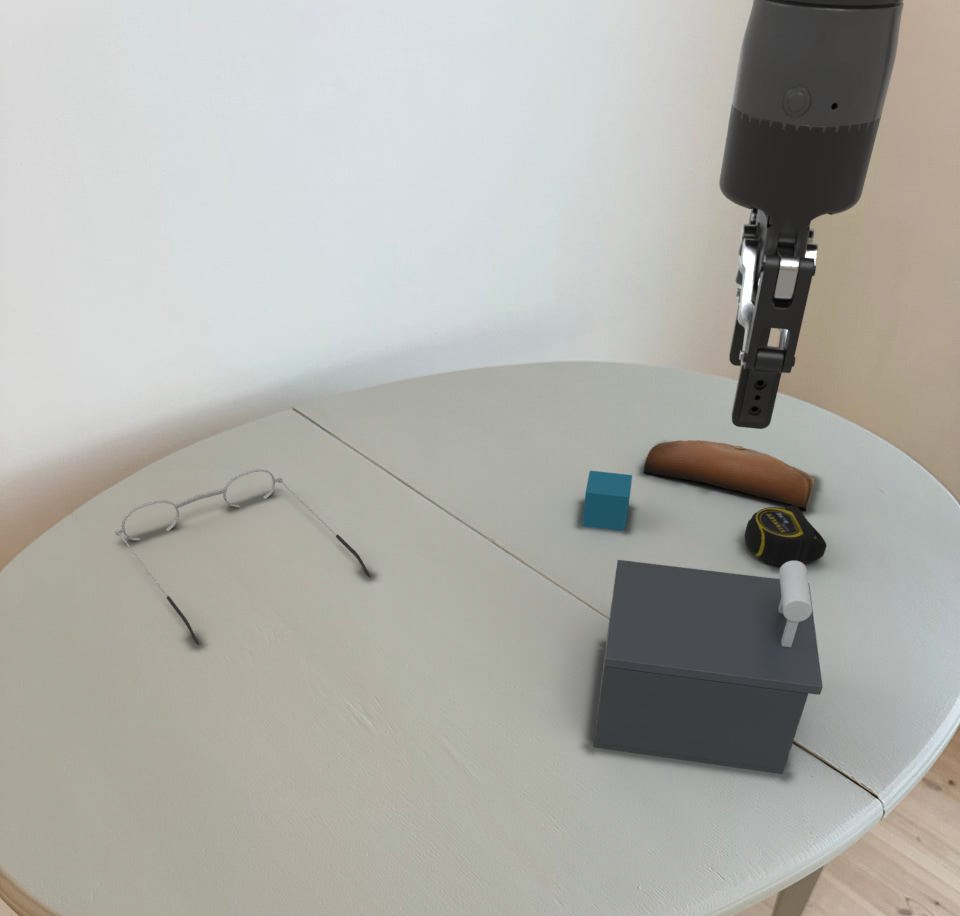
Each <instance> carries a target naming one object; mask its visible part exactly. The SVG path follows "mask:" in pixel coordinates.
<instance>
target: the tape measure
mask: <svg viewBox="0 0 960 916" xmlns="http://www.w3.org/2000/svg"><path fill="white" fill-rule="evenodd" d="M744 540H745V545H746V547H747V549H748V551H749V552H750V553H751V554H752V555H753V556H755V557H756V558H758V560H760V561H761V562H765V563H767V564H770V565H773V566H780V567H781V566H782V565H783V564H784V563H786V562H789V561H799V562H801V563H803V564H804V563H810V562H811V563H812V562H816V561H818V560H820V559H822V558H824V555H825V552H826V549H827V542H826V540H825V538H823V536H822V534H821V533H820V532H819V531H818V530H817V529H816V528H815V527H814V526H813V524H811V522H809V520H808V519H807V518H806V516H805V514H804V513H803V512H802V511H801V510H800V508H799V507H797V506H794V505H790V506H789V505H788V506H785V507H784V508H783V507H778V506H771V507H764V508H762V509H760V510H757V511H756V512H755V513H753V514H752V516H751V518H750V519H749V520H748V521H747V524H746V527H745V531H744Z"/></svg>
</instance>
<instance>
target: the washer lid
mask: <svg viewBox="0 0 960 916" xmlns="http://www.w3.org/2000/svg"><path fill="white" fill-rule="evenodd" d="M615 574H616V575H614V582H615V583H613V589H614V591H613V590H612V596H613V599H612V598H611V604H612V608H611V607H610V611H611V616H610V615H609V618H610V624H609V623H608V625H609V632H608V631H607V633H608V640H607V639H606V640H607V648H606V647H605V648H606V656H605V655H604V656H605V664H604V663H603V664H604V666H606V667H613V668H621V669H628V670H636V671H643V672H651V673H658V674H666V675H674V676H681V677H689V678H696V679H704V680H711V681H719V682H726V683H734V684H741V685H749V686H756V687H764V688H771V689H779V690H786V691H794V692H802V693H808V695H817V696H820V695H821V694H822V690H823V688H824V686H823V680H822V672H821V671H822V670H821V664H820V655H819V649H818V640H817V633H816V632H817V631H816V626H815V618H814V611H813V610H814V609H813V601H812V595H811V586H810V582H809V577H808V569H807V566H806V565H805V564H804V563H801V562H799V561H789V562H786V563H784V564H783V565H782V566H780V568H779V571H778V576H779V578H774V577H765V576H758V575H757V576H756V575H748V574H741V573H732V572H724V571H715V570H707V569H700V568H691V567H682V566H674V565H667V564H666V565H665V564H658V563H657V564H656V563H647V562H641V561H640V562H639V561H632V560H623V559H617V561H616V567H615Z"/></svg>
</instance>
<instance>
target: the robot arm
mask: <svg viewBox="0 0 960 916" xmlns="http://www.w3.org/2000/svg"><path fill="white" fill-rule="evenodd" d="M904 1H905V0H753V1H752V6H751V10H750V12H749V13H750V14H749V18H748V20H747V24H746V28H745V31H744V34H743V38H742V42H741V47H740V52H739V57H738V62H737V63H738V64H737V70H736V76H735V83H734V89H733V95H732V99H731V107H730V112H729V118H728V124H727V131H726V138H725V143H724V144H725V145H724V150H723V157H722V163H721V168H720V175H719V180H718V183H719V185H718V186H719V189H720V192H721V193H722V195H723V196H724V197H725V198H726V199H727V200H729V201H730V202H732V203H734V204H735V205H738V206H740V207H742V208H744V209H748V210H750V214H749V220H748V223H743V224H742V227H741V230H740V235H739V246H738V258H737V263H736V271H735V281H734V282H735V283H736V284H737V285H739V286H738V287H737V288H736V291H735V297H736V298H737V300H736V303H737V304H738V305H737V309H736V316H735V321H734V327H733V332H732V337H731V343H730V347H729V355H728V358H729V362H730V364H731V365H733V366H737V367H740V369H739V375H738V380H737V383H736V389H735V395H734V400H733V405H732V410H731V422H732V424H733V425H734V426H735V427H738V428H747V429H758V430H763V429H767V428H768V427H769V426H770V424H771V422H772V417H773V413H774V410H775V409H774V408H775V404H776V400H777V395H778V391H779V386H780V382H781V377H782V374H791V372H792V369H793V367H795V364H796V351H797V347H798V342H799V338H800V334H801V329H802V324H803V320H804V317H805V311H806V307H807V301H808V298H809V293H810V290H811V289H810V288H811V283H812V280H813V277H815V274H816V272H817V271H816V270H817V257H818V250H819V249H818V248H819V244H818V243H813V242H814V236H815V229H814V228H810V227H811V222H812V221H813V220H815V219H817V218H819V217H821V216H824V215H830V216H833V215H837V214H840V213H844V212H847V211H848V210H850V209H851V208H853V207H855V205H857V204H858V203H859V201H860V199H861V197H862V194H863V190H864V187H865V183H866V178H867V176H868V175H867V174H868V170H869V167H870V162H871V159H872V154H873V151H874V146H875V143H876V139H877V134H878V131H879V127H880V122H881V119H882V115H883V110H884V106H885V103H886V99H887V94H888V91H889V86H890V83H891V79H892V74H893V70H894V67H895V66H894V65H895V62H896V57H897V51H898V45H899V37H900V29H901V21H902V15H903V10H904V6H905V5H904V4H905V3H904ZM772 329H777V330H778V331H779V332H780V333H779V334H780V335H779V340H778V341H779V342H778V346H771V345H769V340H770V337H771V331H772Z"/></svg>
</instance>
